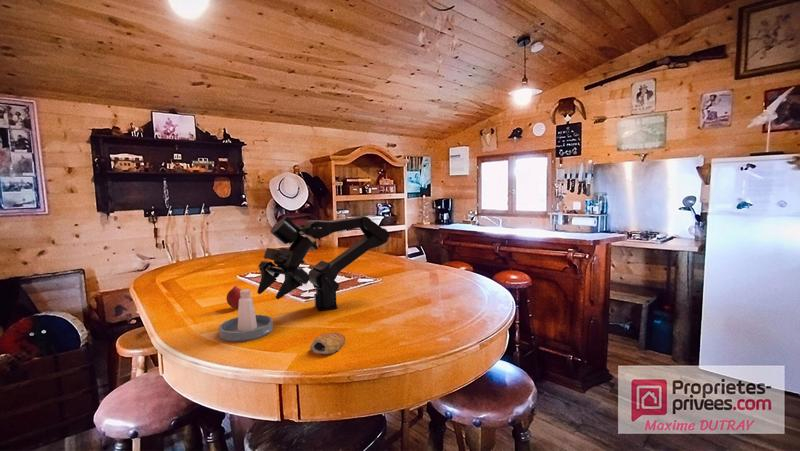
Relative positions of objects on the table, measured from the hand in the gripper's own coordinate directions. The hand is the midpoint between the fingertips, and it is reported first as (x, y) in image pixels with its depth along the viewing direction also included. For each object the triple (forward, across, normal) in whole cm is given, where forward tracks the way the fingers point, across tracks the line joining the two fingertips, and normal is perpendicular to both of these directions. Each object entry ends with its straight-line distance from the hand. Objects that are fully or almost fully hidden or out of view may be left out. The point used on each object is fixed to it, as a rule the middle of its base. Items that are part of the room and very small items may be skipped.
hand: (267, 295), depth 110 cm
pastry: (+7, +27, +6) cm, 28 cm away
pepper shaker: (+10, 0, +1) cm, 10 cm away
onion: (+4, -22, +8) cm, 24 cm away
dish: (+11, 0, +1) cm, 11 cm away
